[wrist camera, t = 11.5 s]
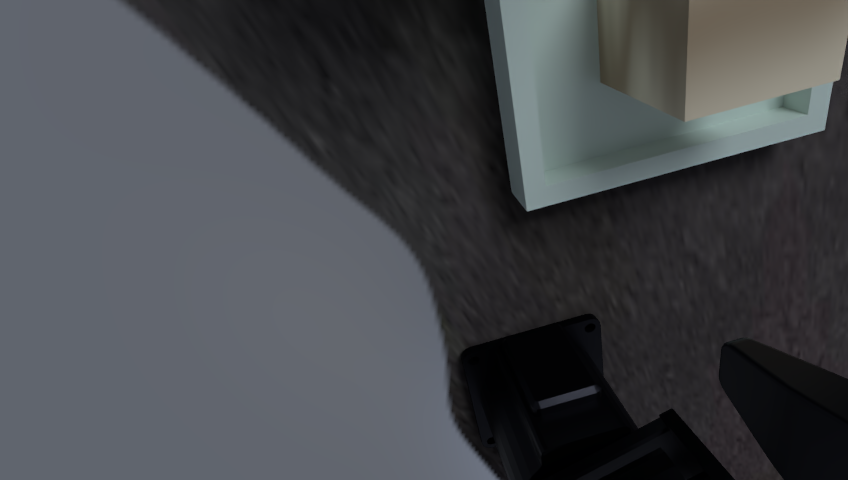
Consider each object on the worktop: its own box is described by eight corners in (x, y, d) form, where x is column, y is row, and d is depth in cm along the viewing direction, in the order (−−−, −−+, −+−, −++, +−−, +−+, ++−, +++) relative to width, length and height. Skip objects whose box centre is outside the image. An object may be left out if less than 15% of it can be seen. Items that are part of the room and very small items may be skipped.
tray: (787, 117, 21) (824, 129, 20) (511, 192, 21) (527, 211, 19) (840, -262, 16) (898, -287, 14) (459, -171, 15) (475, -185, 13)
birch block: (720, 50, 19) (839, 80, 14) (600, 82, 19) (684, 121, 14) (730, -96, 17) (874, -113, 12) (593, -62, 16) (691, -67, 12)
